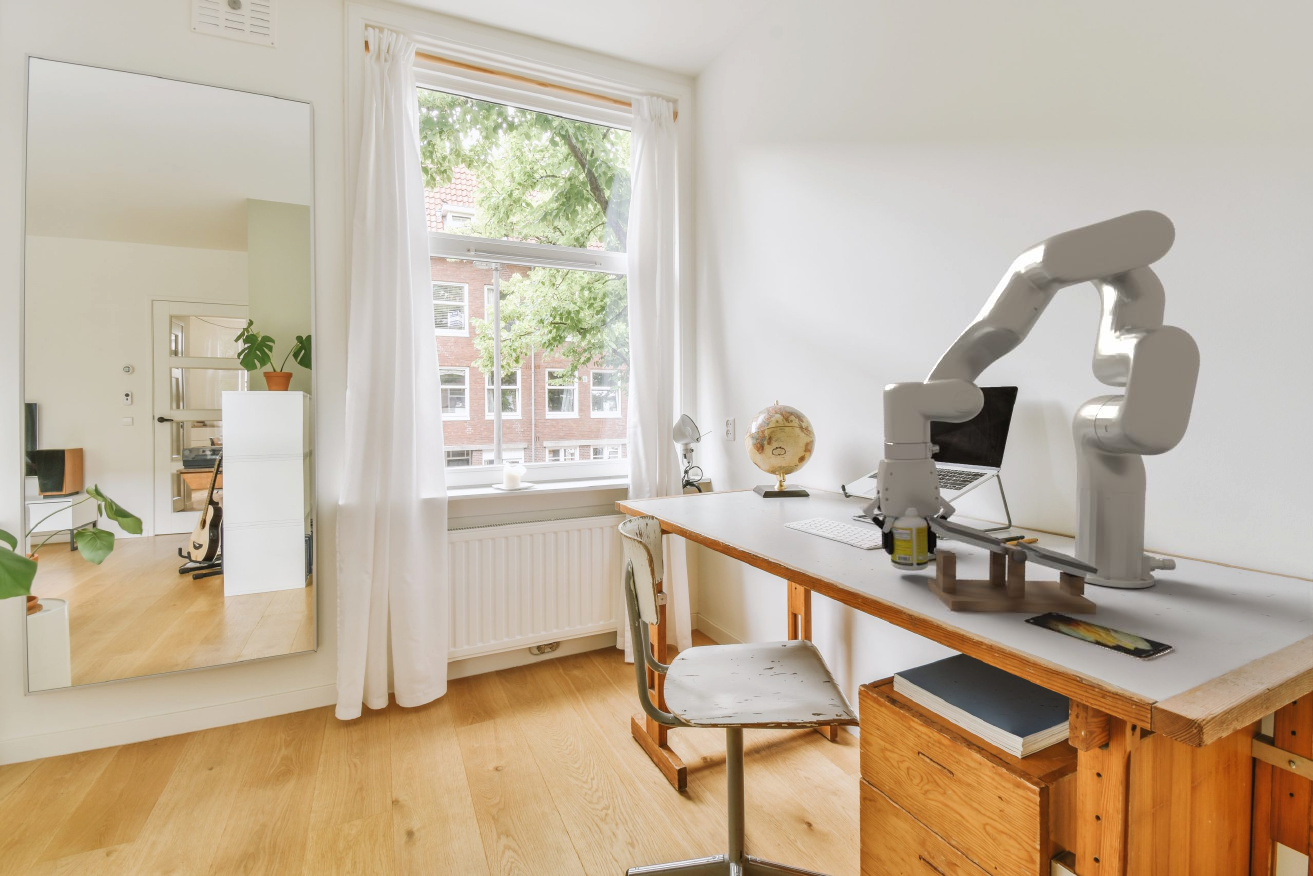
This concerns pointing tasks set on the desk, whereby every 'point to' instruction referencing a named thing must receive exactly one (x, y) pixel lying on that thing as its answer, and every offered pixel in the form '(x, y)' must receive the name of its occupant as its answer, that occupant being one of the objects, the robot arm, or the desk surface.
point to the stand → (1008, 588)
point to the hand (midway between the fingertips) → (909, 551)
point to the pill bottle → (910, 542)
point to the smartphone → (1100, 635)
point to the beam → (1010, 547)
